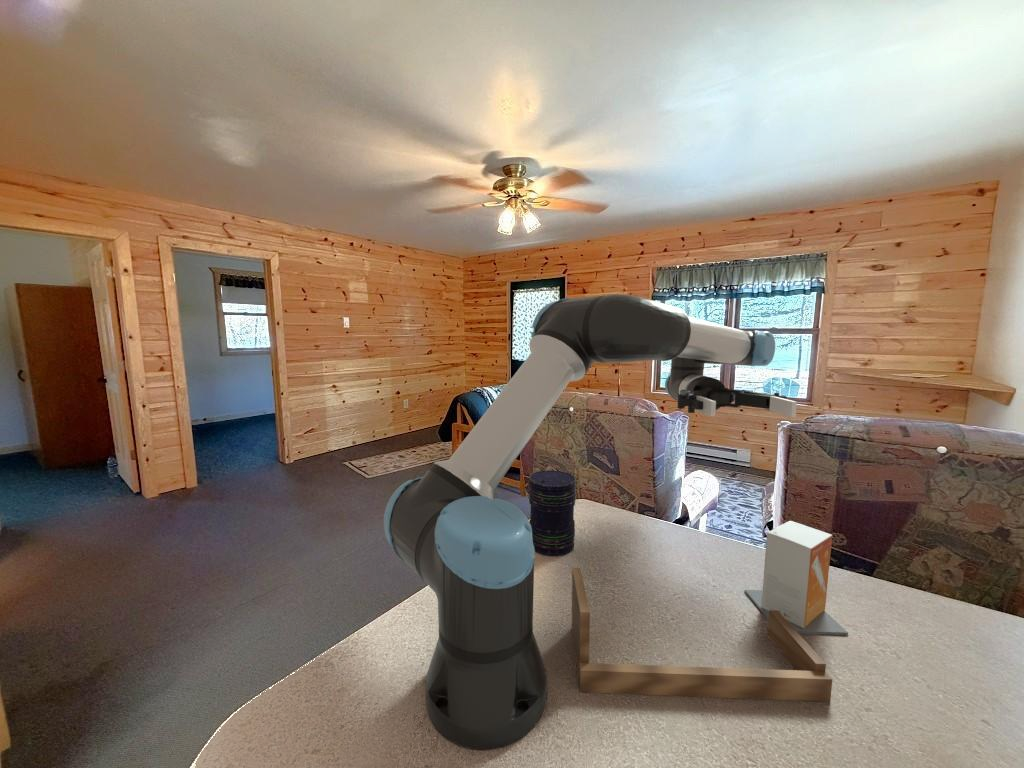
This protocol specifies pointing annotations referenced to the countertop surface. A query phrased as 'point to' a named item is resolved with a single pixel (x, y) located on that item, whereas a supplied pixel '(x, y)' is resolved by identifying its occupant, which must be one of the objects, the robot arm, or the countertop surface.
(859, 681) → the countertop surface
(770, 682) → the wooden u-shaped frame
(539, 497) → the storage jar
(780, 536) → the small box
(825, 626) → the mat
